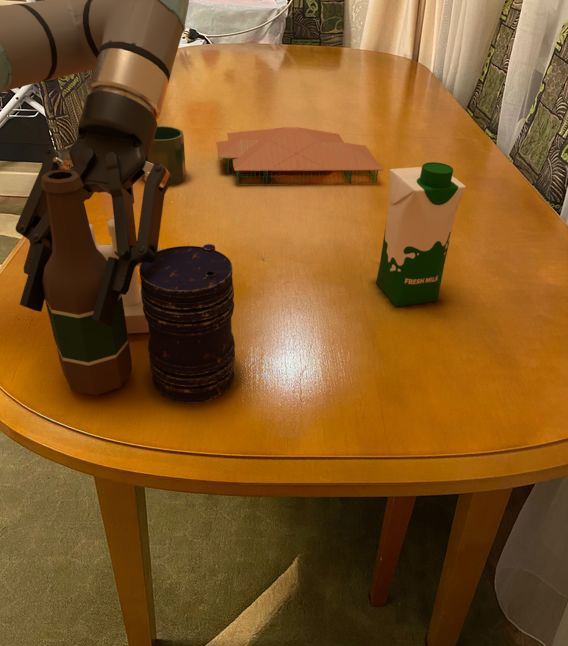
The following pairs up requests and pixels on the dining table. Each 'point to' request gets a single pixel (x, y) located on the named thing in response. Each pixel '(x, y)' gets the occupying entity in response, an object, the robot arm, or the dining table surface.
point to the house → (295, 153)
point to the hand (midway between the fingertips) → (65, 315)
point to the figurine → (133, 296)
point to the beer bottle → (80, 294)
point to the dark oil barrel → (189, 322)
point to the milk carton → (418, 232)
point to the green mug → (169, 153)
